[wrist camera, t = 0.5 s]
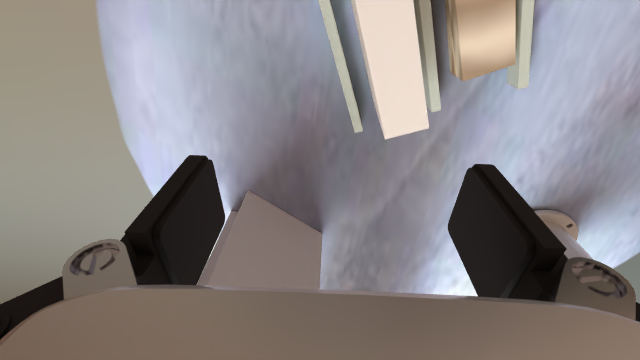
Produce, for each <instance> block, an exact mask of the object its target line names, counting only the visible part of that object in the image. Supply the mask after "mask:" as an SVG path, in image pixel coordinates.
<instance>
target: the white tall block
mask: <svg viewBox="0 0 640 360" xmlns="http://www.w3.org/2000/svg"><path fill="white" fill-rule="evenodd" d="M321 251H322V233H320V232H319V231H317V230H315V229H313V228H312V227H310V226H308V225H307V224H305V223H303V222H302V221H300V220H298V219H296V218H295V217H293V216H291V215H290V214H288V213H286V212H285V211H283V210H281V209H279V208H278V207H276V206H274V205H273V204H271V203H269V202H268V201H266V200H264V199H262V198H261V197H259V196H257V195H256V194H254V193H252V192H251V191H249V190H248V191H247V193H246V195H245V197H244V200H243V202H242V204H241V207H240V209H239V211H238V212H236V211H231V213H230V215H229V217H228V219H227V221H226V224H225V226H224V228H223V230H222V232H221V234H220V236H219V239H218V241H217V243H216V245H215V247H214V249H213V252H212V254H211V256H210V258H209V260H208V262H207V265H206V267H205V269H204V271H203V273H202V275H201V278H200V280H199V282H198V284H197V285H214V286H244V287H271V288H298V289H319V287H320V269H321Z"/></svg>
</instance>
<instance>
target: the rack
mask: <svg viewBox="0 0 640 360" xmlns="http://www.w3.org/2000/svg"><path fill="white" fill-rule="evenodd" d="M318 1H319V5H320V8H321V12H322V15H323V19H324V23H325V26H326V30H327V34H328V37H329V41H330V44H331V48H332V52H333V55H334V59H335V63H336V66H337V70H338V74H339V77H340V81H341V84H342V88H343V92H344V95H345V99H346V103H347V106H348V110H349V113H350V117H351V121H352V124H353V128H354V132H355V133H357V132H361V131H363V128H362V123H361V119H360V115H359V111H358V107H357V103H356V99H355V95H354V91H353V87H352V84H351V80H350V76H349V72H348V68H347V64H346V60H345V56H344V52H343V48H342V45H341V41H340V37H339V33H338V29H337V25H336V21H335V17H334V13H333V9H332V6H331V2H330V0H318ZM413 2H414V10H415V18H416V26H417V34H418V42H419V50H420V58H421V67H422V75H423V83H424V91H425V99H426V105H427V107H428V108H429V109H430V111H431V112H435V111H439V110H441V105H440V95H439V84H438V74H437V64H436V53H435V43H434V32H433V22H432V11H431V1H430V0H413ZM533 11H534V0H516V31H515V65H512V66H509V67H507V83H508V84H510V85H511V86H513V87H515V88H517V89H521V88H525V87H528V82H529V68H530V54H531V40H532V26H533Z"/></svg>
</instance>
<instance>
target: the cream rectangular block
mask: <svg viewBox="0 0 640 360" xmlns="http://www.w3.org/2000/svg"><path fill="white" fill-rule="evenodd" d="M351 4H352V8H353V13H354V17H355V22H356V26H357V30H358V35H359V39H360V44H361V48H362V53H363V57H364V62H365V66H366V71H367V75H368V80H369V84H370V89H371V93H372V98H373V102H374V106H375V109H376V112H377V115H378V118H379V122H380V125H381V128H382V131H383V134H384V137H385V139H389V138H393V137H396V136H400V135H404V134H408V133H412V132H416V131H420V130H424V129H427V128H429V124H428V116H427V108H426V100H425V92H424V84H423V75H422V67H421V59H420V51H419V43H418V35H417V27H416V19H415V11H414V2H413V0H351Z"/></svg>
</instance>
